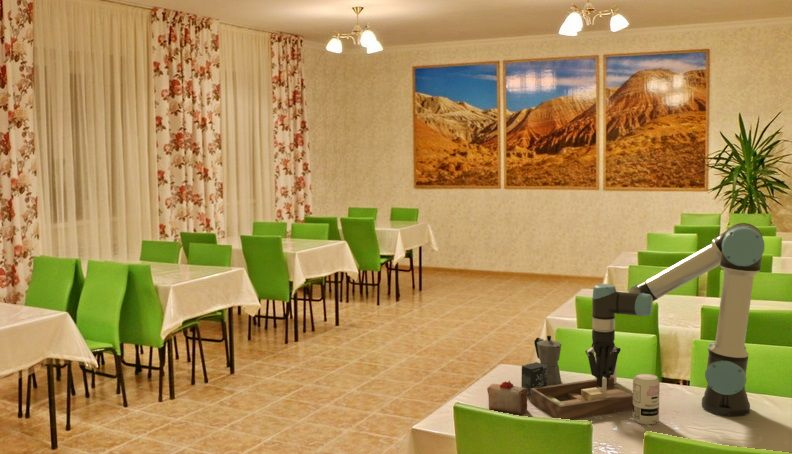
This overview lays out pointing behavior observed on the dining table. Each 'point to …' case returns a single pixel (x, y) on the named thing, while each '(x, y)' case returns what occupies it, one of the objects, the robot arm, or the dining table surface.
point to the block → (592, 394)
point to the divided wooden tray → (568, 400)
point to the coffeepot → (549, 358)
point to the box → (534, 376)
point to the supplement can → (646, 398)
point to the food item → (507, 398)
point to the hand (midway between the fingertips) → (602, 395)
